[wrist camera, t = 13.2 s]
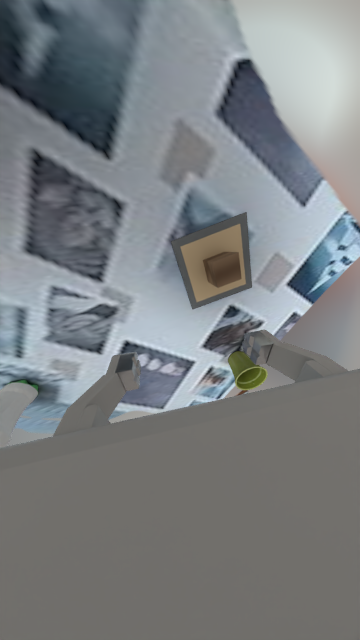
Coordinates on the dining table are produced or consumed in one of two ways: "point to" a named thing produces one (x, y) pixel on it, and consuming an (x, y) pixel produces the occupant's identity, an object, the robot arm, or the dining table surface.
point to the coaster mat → (206, 245)
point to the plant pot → (246, 371)
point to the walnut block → (223, 268)
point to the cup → (14, 406)
